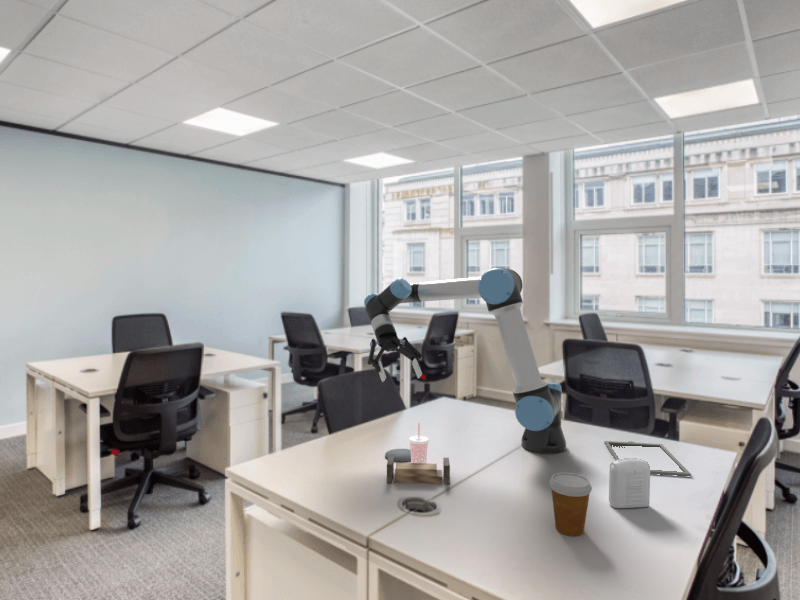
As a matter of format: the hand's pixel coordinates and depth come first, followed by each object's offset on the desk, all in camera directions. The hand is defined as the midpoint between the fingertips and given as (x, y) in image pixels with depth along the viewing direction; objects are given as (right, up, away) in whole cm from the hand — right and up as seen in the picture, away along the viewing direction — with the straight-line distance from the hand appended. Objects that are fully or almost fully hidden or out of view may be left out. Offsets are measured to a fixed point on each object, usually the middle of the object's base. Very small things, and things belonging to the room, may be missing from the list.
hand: (402, 377), depth 167 cm
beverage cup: (+5, -26, -12) cm, 29 cm away
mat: (0, -26, -2) cm, 26 cm away
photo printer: (+59, -27, -38) cm, 76 cm away
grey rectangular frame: (+80, -27, -4) cm, 84 cm away
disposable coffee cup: (+39, -28, -51) cm, 70 cm away
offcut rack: (+5, -27, -22) cm, 35 cm away
